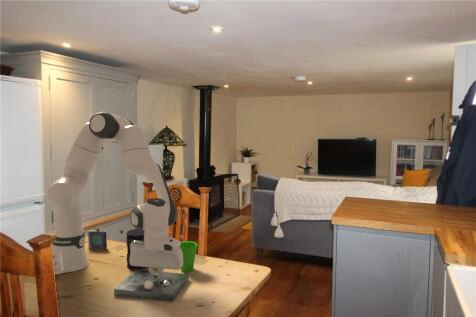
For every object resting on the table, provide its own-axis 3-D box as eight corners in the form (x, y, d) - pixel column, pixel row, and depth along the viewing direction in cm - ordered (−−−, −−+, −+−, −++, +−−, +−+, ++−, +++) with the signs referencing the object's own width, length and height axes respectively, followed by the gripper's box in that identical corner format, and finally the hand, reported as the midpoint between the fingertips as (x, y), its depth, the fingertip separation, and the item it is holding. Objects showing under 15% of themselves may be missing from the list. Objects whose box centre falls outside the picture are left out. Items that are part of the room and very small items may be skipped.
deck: (114, 295, 131) (114, 288, 131) (136, 275, 149) (136, 269, 148) (172, 301, 127) (172, 294, 127) (188, 280, 145) (188, 274, 145)
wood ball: (148, 275, 143) (148, 265, 142) (152, 271, 147) (152, 261, 146) (157, 276, 142) (157, 266, 142) (161, 272, 146) (161, 262, 146)
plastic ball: (142, 290, 130) (142, 282, 130) (146, 286, 133) (146, 278, 133) (150, 291, 129) (150, 283, 129) (154, 287, 132) (154, 279, 132)
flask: (87, 249, 179) (87, 227, 178) (90, 247, 182) (90, 226, 181) (105, 250, 178) (105, 228, 177) (108, 248, 181) (107, 226, 180)
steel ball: (159, 282, 136) (167, 281, 135) (163, 279, 139) (171, 278, 138) (161, 291, 136) (169, 290, 135) (165, 287, 139) (172, 286, 138)
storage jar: (137, 259, 166) (137, 227, 164) (154, 263, 162) (154, 230, 160) (121, 267, 157) (121, 233, 155) (139, 271, 153) (139, 236, 151)
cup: (193, 274, 150) (193, 248, 149) (172, 272, 152) (172, 247, 151) (200, 266, 159) (200, 242, 158) (180, 264, 161) (180, 240, 160)
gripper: (126, 243, 135) (126, 279, 136) (179, 247, 131) (179, 284, 132) (134, 237, 141) (134, 272, 142) (184, 241, 137) (184, 277, 139)
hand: (156, 278), depth 137 cm, fingers closed
